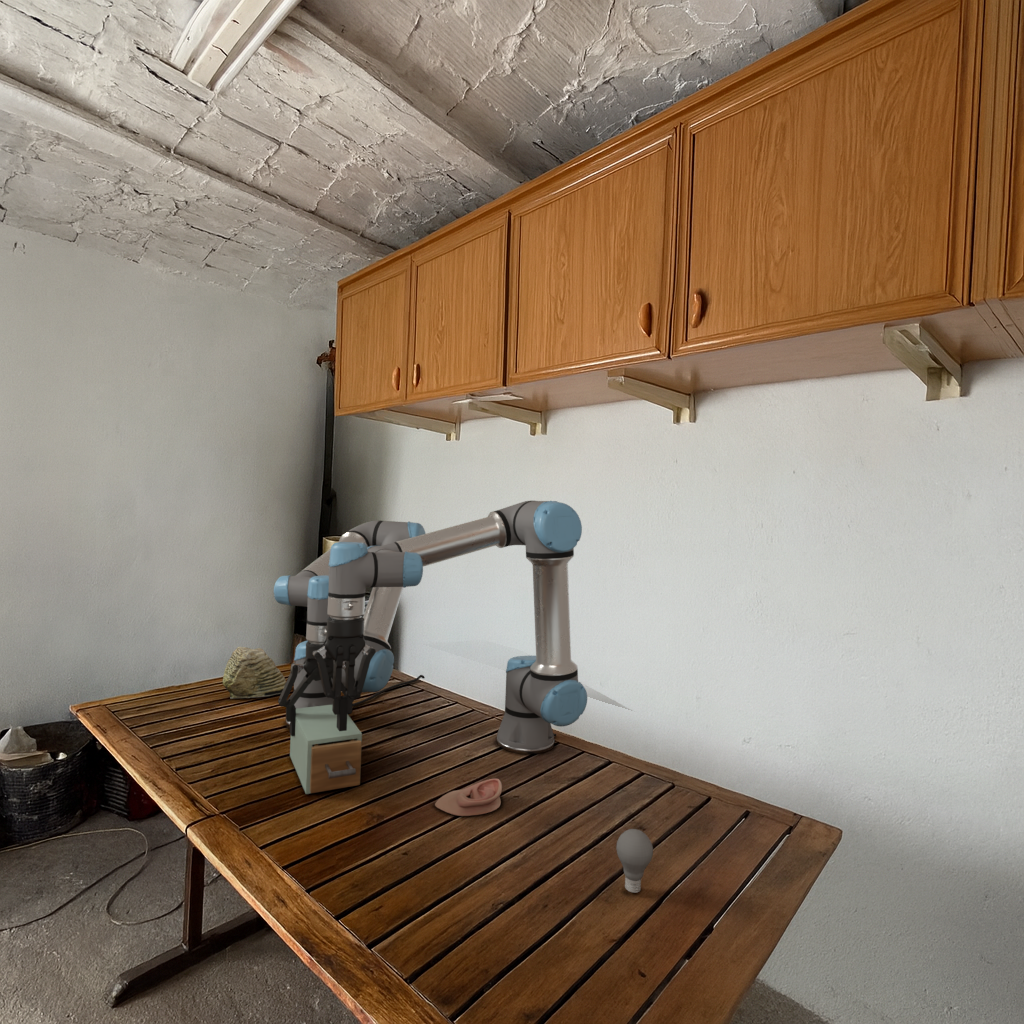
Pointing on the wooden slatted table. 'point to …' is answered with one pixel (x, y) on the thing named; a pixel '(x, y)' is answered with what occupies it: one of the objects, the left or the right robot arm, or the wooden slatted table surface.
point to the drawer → (335, 765)
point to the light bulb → (634, 857)
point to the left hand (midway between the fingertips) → (319, 730)
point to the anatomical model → (472, 799)
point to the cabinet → (316, 737)
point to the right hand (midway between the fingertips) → (341, 728)
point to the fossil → (252, 674)
